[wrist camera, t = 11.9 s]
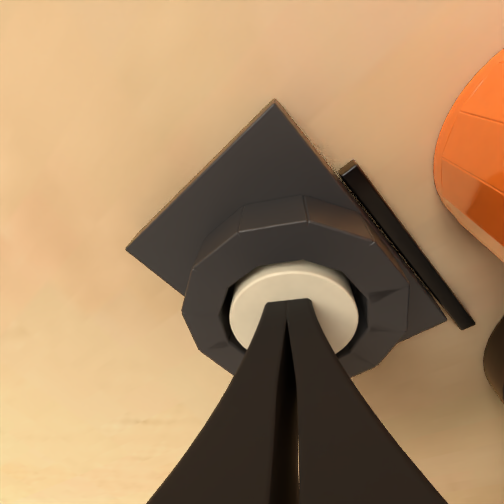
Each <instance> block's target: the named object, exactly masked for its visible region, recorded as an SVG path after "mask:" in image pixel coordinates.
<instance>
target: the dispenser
mask: <svg viewBox="0 0 504 504" xmlns="http://www.w3.org/2000/svg"><path fill="white" fill-rule="evenodd" d="M338 172H339V175H340V176H341V178H342V179H343V181H344V182H345V183H346V184H347V186H348V187H349V188H350V190H351V191H352V192H353V193H354V195H355V196H356V197H357V198H358V200H359V201H360V202H361V204H362V205H363V206H364V207H365V209H366V210H367V211H368V212H369V214H370V215H371V216H372V218H373V219H374V220H375V221H376V223H377V224H378V225H379V226H380V228H381V229H382V230H383V232H384V233H385V234H386V235H387V237H388V238H389V239H390V240H391V242H392V243H393V244H394V246H395V247H396V248H397V249H398V251H399V252H400V253H401V254H402V256H403V257H404V258H405V260H406V261H407V262H408V263H409V265H410V266H411V267H412V268H413V270H414V271H415V272H416V274H417V275H418V276H419V277H420V279H421V280H422V281H423V282H424V284H425V285H426V286H427V288H428V289H429V290H430V291H431V293H432V294H433V295H434V296H435V298H436V299H437V300H438V302H439V303H440V304H441V305H442V307H443V308H444V309H445V310H446V312H447V313H448V314H449V316H450V317H451V318H452V319H453V321H454V322H455V323H456V325H457V326H458V327H459V328H460V329H461V330H464V329H466V328H469V327H471V326H473V325H475V321H474V320H473V319H472V317H471V316H470V315H469V313H468V312H467V311H466V309H465V308H464V307H463V305H462V304H461V303H460V301H459V300H458V299H457V297H456V296H455V295H454V293H453V292H452V291H451V289H450V288H449V287H448V285H447V284H446V283H445V281H444V280H443V278H442V277H441V276H440V274H439V273H438V272H437V270H436V269H435V268H434V266H433V265H432V264H431V262H430V261H429V260H428V258H427V257H426V256H425V254H424V253H423V252H422V250H421V249H420V248H419V246H418V245H417V244H416V242H415V241H414V239H413V238H412V237H411V235H410V234H409V233H408V231H407V230H406V229H405V227H404V226H403V225H402V223H401V222H400V221H399V219H398V218H397V217H396V215H395V214H394V213H393V211H392V210H391V209H390V207H389V206H388V205H387V203H386V202H385V201H384V199H383V198H382V196H381V195H380V194H379V192H378V191H377V190H376V188H375V187H374V186H373V184H372V183H371V182H370V180H369V179H368V178H367V176H366V175H365V174H364V172H363V171H362V170H361V168H360V167H359V166H358V164H357V163H356V162H355V161H354V160H352V161H350V162H349V163H348V164H346V165H345V166H344V167H342V168H341V169H340V170H339V171H338ZM483 361H484V371H485V374H486V377H487V379H488V381H489V382H490V384H491V386H492V387H493V389H494V390H495V392H496V393H497V395H498V396H499V398H500V399H501V401H502V402H503V404H504V317H503V318H502V320H501V321H500V322H499V324H498V325H497V326H496V328H495V329H494V331H493V333H492V335H491V336H490V338H489V340H488V343H487V346H486V349H485V353H484V360H483Z"/></svg>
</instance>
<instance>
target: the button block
mask: <svg viewBox="0 0 504 504" xmlns="http://www.w3.org/2000/svg"><path fill="white" fill-rule="evenodd" d="M125 250H126V251H127V252H129V253H130V254H131V255H132V256H134V257H135V258H136V259H138V260H139V261H140V262H141V263H143V264H144V265H145V266H146V267H148V268H149V269H150V270H151V271H153V272H154V273H155V274H157V275H158V276H159V277H160V278H162V279H163V280H164V281H165V282H167V283H168V284H169V285H170V286H172V287H173V288H174V289H176V290H177V291H178V292H179V293H181V294H182V295H183V296H184V297H185V298H184V302H183V306H182V310H181V311H182V315H183V317H184V319H185V322H186V324H187V326H188V328H189V330H190V332H191V334H192V337H193V339H194V341H195V343H196V345H197V347H198V350H200V351H201V352H202V353H203V354H205V355H206V356H207V357H209V358H210V359H211V360H213V361H214V362H216V363H217V364H218V365H220V366H221V367H223V368H224V369H225V370H227V371H228V372H229V373H231V374H232V375H235V373H236V371H237V369H238V367H239V366H240V364H241V362H242V360H243V358H244V355H245V353H246V351H247V349H245V348H244V347H243V346H242V345H241V344H240V343H239V341H238V340H237V339H236V337H235V336H234V333H233V331H232V329H231V325H230V319H229V315H230V308H231V303H232V298H233V293H234V288H235V283H236V282H237V281H238V280H239V279H241V278H242V277H244V276H245V275H246V274H248V273H249V272H251V271H252V270H253V269H255V268H256V267H258V266H263V265H270V264H276V263H283V262H290V261H297V260H305V261H308V262H312V263H315V264H318V265H322V266H325V267H328V268H331V269H335V270H338V271H341V272H343V273H344V274H345V276H346V277H347V278H348V280H349V284H350V287H351V290H352V293H353V296H354V299H355V302H356V306H357V309H358V325H357V329H356V331H355V334H354V336H353V337H352V339H351V340H350V342H349V343H348V344H347V345H346V346H345V347H344V348H343V349H342V350H340V351H339V352H337V353H336V356H337V358H338V359H339V361H340V363H341V364H342V366H343V368H344V369H345V371H346V372H347V374H348V376H349V377H350V378H351V377H353V376H356V375H358V374H360V373H363V372H365V371H367V370H370V369H372V368H374V367H375V366H377V365H379V363H380V362H381V361H382V360H383V359H384V358H385V356H386V355H387V354H388V353H389V352H390V351H391V349H392V348H393V347H394V346H395V345H396V344H397V343H399V342H401V341H403V340H406V339H408V338H410V337H412V336H414V335H417V334H419V333H421V332H423V331H425V330H428V329H430V328H432V327H434V326H436V325H439V324H441V323H443V322H445V321H447V318H446V316H445V315H444V313H443V312H442V310H441V309H440V307H439V306H438V304H437V303H436V301H435V300H434V298H433V297H432V296H431V295H430V293H429V292H428V291H427V289H426V288H425V287H424V286H423V284H422V283H421V282H420V281H419V279H418V278H417V277H416V276H415V274H414V273H413V272H412V270H411V269H410V268H409V267H408V265H407V264H406V263H405V262H404V260H403V259H402V258H401V257H400V255H399V254H398V253H397V251H396V250H395V249H394V248H393V246H392V245H391V244H390V243H389V241H388V240H387V239H386V238H385V236H384V235H383V234H382V233H381V231H380V230H379V229H378V227H377V226H376V225H375V224H374V222H373V221H372V220H371V219H370V217H369V216H368V215H367V214H366V212H365V211H364V210H363V208H362V207H361V206H360V205H359V203H358V202H357V201H356V200H355V198H354V197H353V196H352V195H351V193H350V192H349V191H348V189H347V188H346V187H345V186H344V184H343V183H342V182H341V181H340V179H339V178H338V177H337V176H336V174H335V173H334V172H333V170H332V169H331V168H330V167H329V165H328V164H327V163H326V162H325V160H324V159H323V158H322V157H321V155H320V154H319V153H318V151H317V150H316V149H315V148H314V146H313V145H312V144H311V143H310V141H309V140H308V139H307V138H306V136H305V135H304V134H303V132H302V131H301V130H300V129H299V127H298V126H297V125H296V124H295V122H294V121H293V120H292V119H291V117H290V116H289V115H288V114H287V112H286V111H285V110H284V108H283V107H282V106H281V105H280V103H279V102H278V101H277V100H276V99H273V100H272V101H271V102H270V103H269V104H268V105H267V106H266V107H265V108H264V109H263V110H262V111H261V112H260V113H259V114H258V115H257V116H256V117H255V118H254V119H253V120H252V121H251V122H250V123H249V124H248V125H247V126H246V127H245V128H244V129H242V130H241V131H240V132H239V133H238V134H237V135H236V136H235V137H234V138H233V139H232V140H231V141H230V142H229V143H228V144H227V145H226V146H225V147H224V148H223V149H222V150H221V151H220V152H219V153H218V154H217V155H216V156H215V157H214V158H213V159H212V160H211V161H210V162H209V163H208V164H207V165H206V166H205V167H204V168H203V169H202V170H201V171H200V172H199V173H198V174H197V175H196V176H195V177H194V178H193V179H192V180H191V181H190V182H189V183H188V184H187V185H186V186H185V187H184V188H183V189H182V190H181V191H180V192H179V193H178V194H177V195H176V196H175V197H174V198H173V199H172V200H171V201H170V202H169V203H168V204H167V205H166V206H165V207H164V208H163V209H162V210H161V211H160V212H159V213H158V214H157V215H156V216H155V217H154V218H153V219H152V220H151V221H150V222H149V223H148V224H147V225H146V226H145V227H144V228H143V229H142V230H141V231H140V232H139V233H138V234H137V235H136V236H135V237H134V238H133V240H132V241H131V242H130V243H129V245H128V246H127V247H126V249H125Z"/></svg>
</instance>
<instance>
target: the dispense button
mask: <svg viewBox="0 0 504 504" xmlns="http://www.w3.org/2000/svg"><path fill="white" fill-rule="evenodd" d="M302 298H309V299H310V300H312V305H313V308H314V311H315V314H316V316H317V319H318V321H319V323H320V326H321V328H322V330H323V332H324V334H325V336H326V338H327V340H328V342H329V343H330V345H331V347H332V349H333V351H334V352H335V354H336V353H337V352H339V351H340V350H342V349H343V348H344V347H345V346H346V345H347V344H348V343H349V342H350V340H351V339H352V337H353V336H354V334H355V331H356V329H357V325H358V309H357V306H356V302H355V299H354V296H353V293H352V290H351V287H350V284H349V280H348V278H347V277H346V276H345V274H344V273H343V272H341V271H338V270H335V269H331V268H328V267H325V266H322V265H318V264H315V263H312V262H308V261H305V260H297V261H290V262H283V263H276V264H270V265H263V266H258V267H256V268H255V269H253V270H252V271H251V272H249V273H248V274H246V275H245V276H244V277H242V278H241V279H239V280H238V281H237V282H236V283H235V288H234V293H233V298H232V303H231V308H230V315H229V319H230V325H231V329H232V331H233V333H234V336H235V337H236V339H237V340H238V341H239V343H240V344H241V345H242V346H243V347H244V348H245V349H248V347H249V345H250V342H251V340H252V338H253V336H254V333H255V331H256V329H257V326H258V323H259V321H260V318H261V315H262V312H263V309H264V306H265V305H266V303H267V302H275V301H284V300H293V299H302Z"/></svg>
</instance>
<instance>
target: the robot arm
mask: <svg viewBox="0 0 504 504" xmlns="http://www.w3.org/2000/svg"><path fill="white" fill-rule="evenodd" d="M298 441H299V476H298ZM146 504H448V503H447V502H446V501H445V499H444V498H443V497H442V496H441V495H440V494H439V493H438V491H437V490H436V489H435V488H434V487H433V485H432V484H431V483H430V482H429V481H428V479H427V478H426V477H425V476H424V475H423V473H422V472H421V471H420V470H419V469H418V467H417V466H416V465H415V464H414V463H413V462H412V460H411V459H410V458H409V457H408V456H407V454H406V453H405V452H404V451H403V450H402V448H401V447H400V446H399V445H398V443H397V442H396V441H395V440H394V438H393V437H392V436H391V434H390V433H389V432H388V430H387V429H386V428H385V427H384V425H383V424H382V423H381V421H380V420H379V419H378V417H377V416H376V415H375V413H374V412H373V411H372V409H371V408H370V406H369V405H368V404H367V402H366V401H365V399H364V398H363V397H362V395H361V394H360V392H359V391H358V389H357V388H356V386H355V385H354V383H353V382H352V380H351V379H350V377H349V376H348V374H347V372H346V371H345V369H344V368H343V366H342V364H341V363H340V361H339V359H338V358H337V356H336V354H335V352H334V351H333V349H332V347H331V345H330V343H329V342H328V340H327V338H326V336H325V334H324V332H323V330H322V328H321V326H320V323H319V321H318V319H317V316H316V314H315V311H314V308H313V305H312V300H310V299H309V298H302V299H293V300H284V301H275V302H267V303H266V305H265V306H264V309H263V312H262V315H261V318H260V321H259V323H258V326H257V329H256V331H255V333H254V336H253V338H252V340H251V342H250V345H249V347H248V349H247V351H246V353H245V355H244V358H243V360H242V362H241V364H240V366H239V367H238V369H237V371H236V373H235V375H234V377H233V379H232V381H231V382H230V384H229V386H228V388H227V390H226V392H225V393H224V395H223V397H222V398H221V400H220V402H219V403H218V405H217V407H216V408H215V410H214V411H213V413H212V415H211V416H210V418H209V419H208V421H207V422H206V424H205V426H204V427H203V429H202V430H201V431H200V433H199V434H198V436H197V437H196V439H195V440H194V442H193V443H192V444H191V446H190V447H189V449H188V450H187V452H186V453H185V454H184V456H183V457H182V458H181V460H180V461H179V463H178V464H177V465H176V467H175V468H174V469H173V471H172V472H171V473H170V474H169V476H168V477H167V478H166V479H165V481H164V482H163V483H162V484H161V486H160V487H159V488H158V489H157V491H156V492H155V493H154V495H153V496H152V497H151V498H150V500H149V501H148V502H147V503H146Z"/></svg>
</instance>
